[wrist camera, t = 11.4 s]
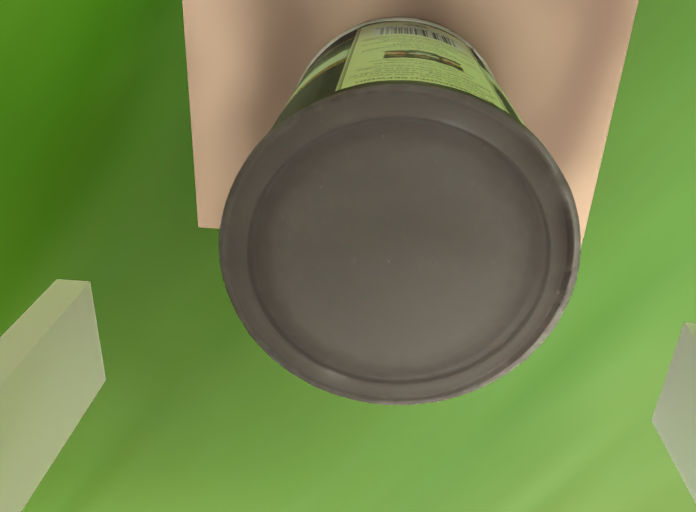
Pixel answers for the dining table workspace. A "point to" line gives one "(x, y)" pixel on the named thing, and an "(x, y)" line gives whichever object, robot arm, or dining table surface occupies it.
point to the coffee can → (399, 223)
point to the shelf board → (420, 3)
